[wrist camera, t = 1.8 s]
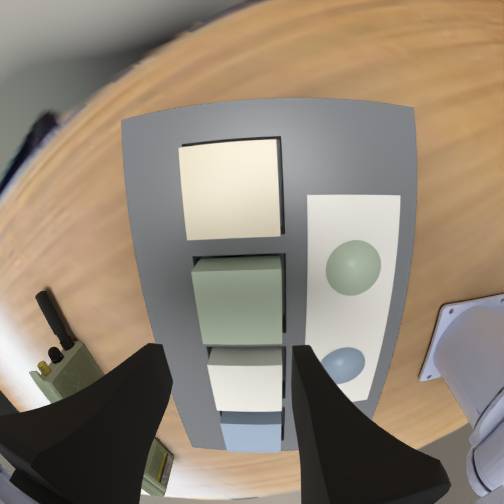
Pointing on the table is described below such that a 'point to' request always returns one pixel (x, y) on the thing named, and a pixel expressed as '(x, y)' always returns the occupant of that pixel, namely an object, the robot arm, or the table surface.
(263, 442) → the slate-blue key
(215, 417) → the keypad
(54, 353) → the handheld radio
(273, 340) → the sage key
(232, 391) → the off-white key
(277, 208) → the sand key
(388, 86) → the table surface
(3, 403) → the tablet
